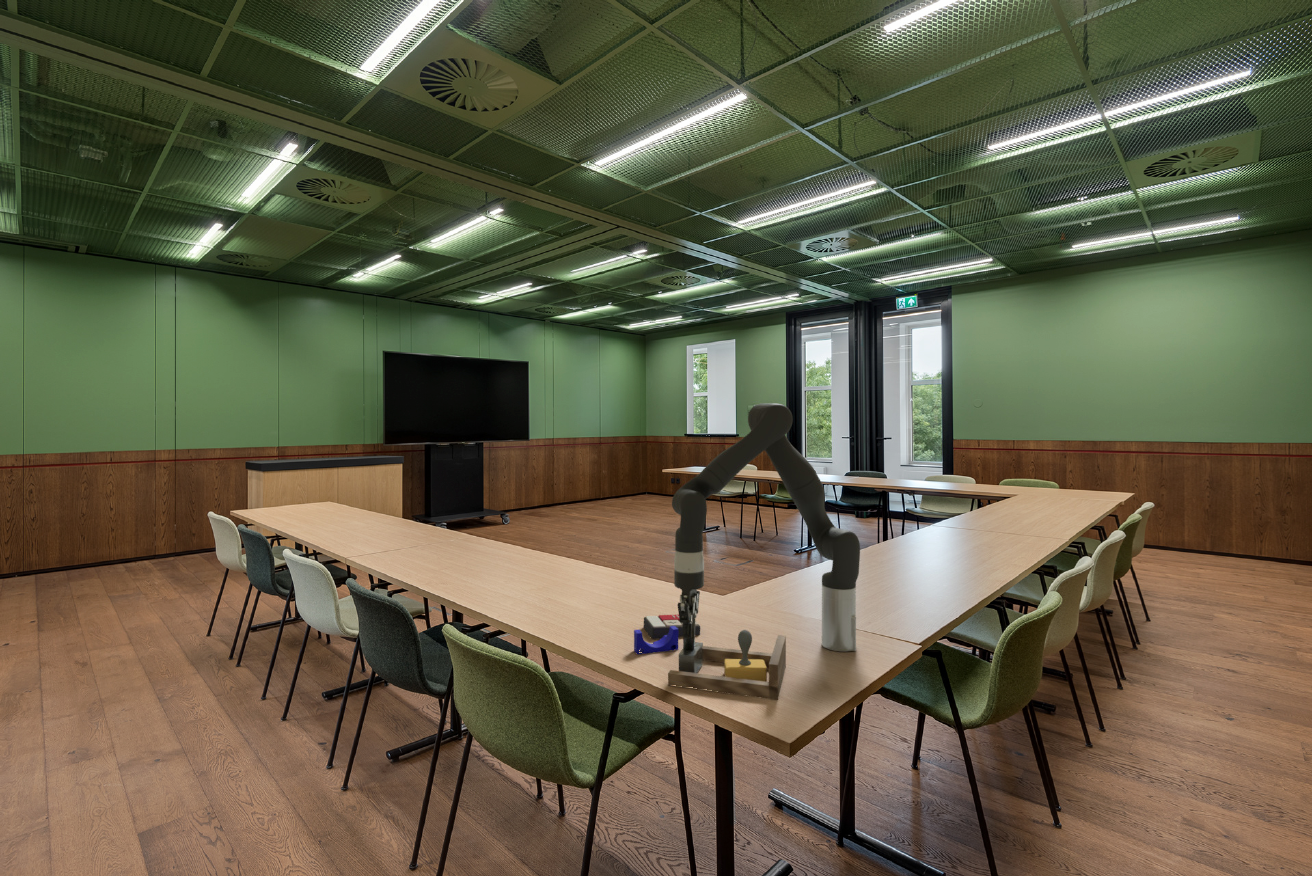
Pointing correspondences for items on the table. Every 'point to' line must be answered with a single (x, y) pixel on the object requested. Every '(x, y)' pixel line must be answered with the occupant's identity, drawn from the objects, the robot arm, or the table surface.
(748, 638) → the rubber stamp
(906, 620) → the table surface
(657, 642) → the blue pipe saddle
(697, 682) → the frame
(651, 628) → the calculator
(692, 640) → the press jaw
